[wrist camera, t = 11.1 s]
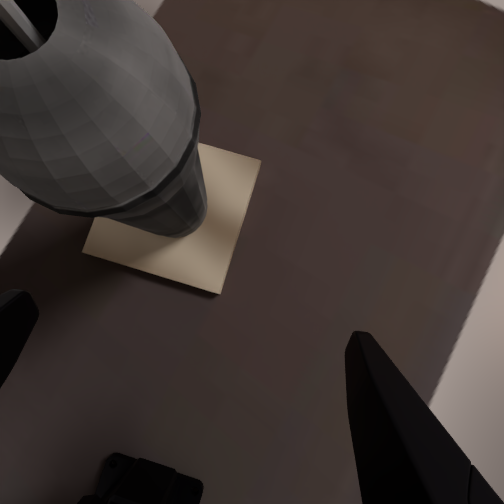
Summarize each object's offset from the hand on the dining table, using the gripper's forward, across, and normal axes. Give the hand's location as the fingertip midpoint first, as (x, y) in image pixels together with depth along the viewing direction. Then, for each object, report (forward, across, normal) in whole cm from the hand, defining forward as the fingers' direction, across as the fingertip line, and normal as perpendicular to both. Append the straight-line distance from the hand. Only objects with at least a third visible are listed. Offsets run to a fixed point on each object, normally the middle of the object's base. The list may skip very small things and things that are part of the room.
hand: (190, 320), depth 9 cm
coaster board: (+14, +5, +5) cm, 16 cm away
